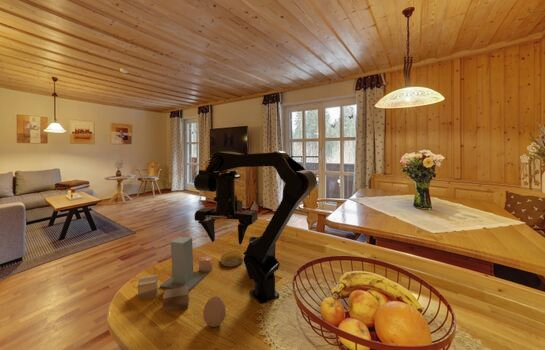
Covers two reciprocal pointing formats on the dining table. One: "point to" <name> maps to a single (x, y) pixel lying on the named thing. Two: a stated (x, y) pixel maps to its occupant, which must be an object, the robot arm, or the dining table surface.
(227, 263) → the bread roll
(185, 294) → the walnut brick
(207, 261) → the pink rounded pebble
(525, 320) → the dining table surface
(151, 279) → the beech cube
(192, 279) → the coaster
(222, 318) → the mauve oval ball
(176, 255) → the tall block
